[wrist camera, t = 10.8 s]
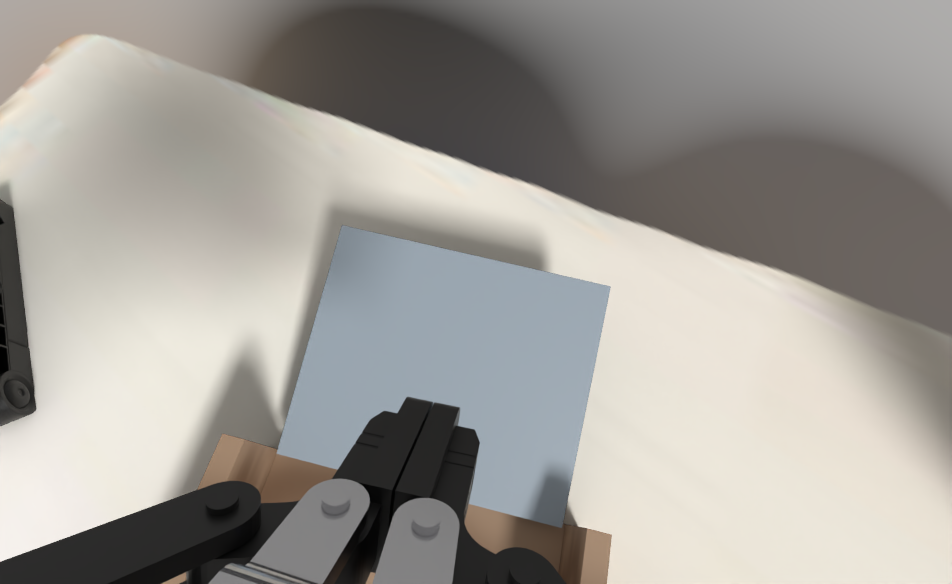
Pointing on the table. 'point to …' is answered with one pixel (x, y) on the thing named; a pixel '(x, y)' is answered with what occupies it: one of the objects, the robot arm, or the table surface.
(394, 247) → the blue-grey flat rectangular panel
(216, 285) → the table surface
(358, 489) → the robot arm
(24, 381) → the portable electronic device stand
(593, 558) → the wooden tray
